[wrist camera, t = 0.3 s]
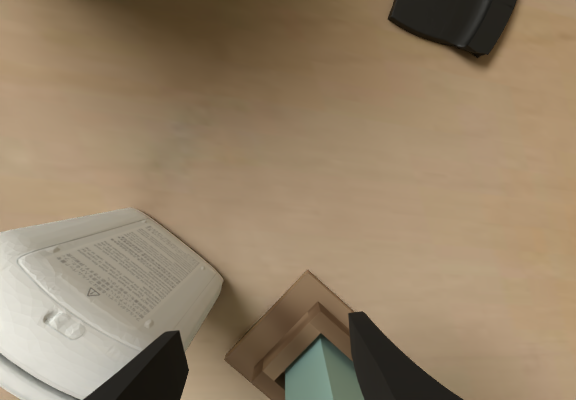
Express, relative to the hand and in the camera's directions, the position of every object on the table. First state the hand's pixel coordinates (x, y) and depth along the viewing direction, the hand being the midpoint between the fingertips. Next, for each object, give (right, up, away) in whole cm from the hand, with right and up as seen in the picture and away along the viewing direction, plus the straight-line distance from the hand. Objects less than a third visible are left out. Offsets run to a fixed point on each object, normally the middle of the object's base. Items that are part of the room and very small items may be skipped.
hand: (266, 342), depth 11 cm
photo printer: (-9, +1, +11) cm, 14 cm away
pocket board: (+3, -7, +11) cm, 14 cm away
